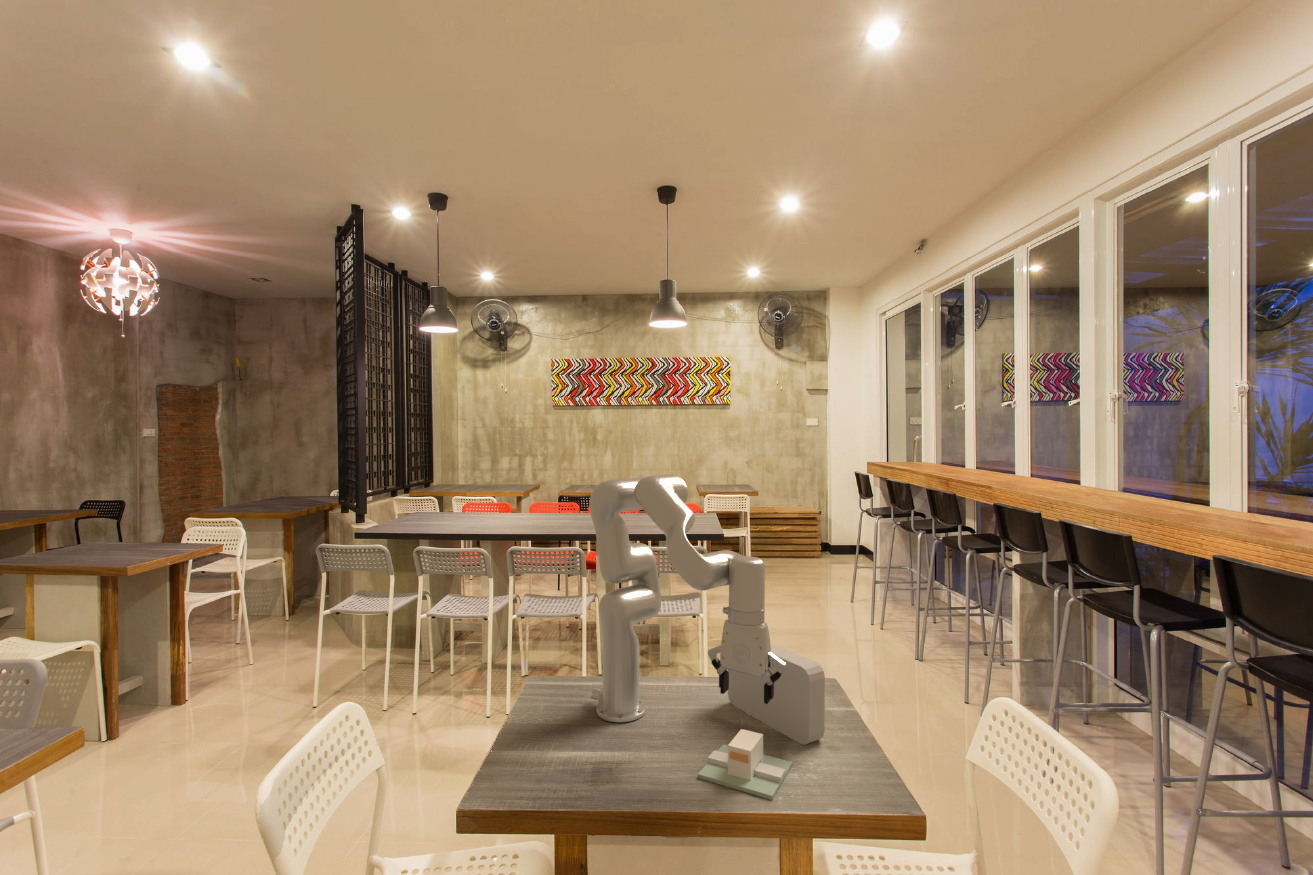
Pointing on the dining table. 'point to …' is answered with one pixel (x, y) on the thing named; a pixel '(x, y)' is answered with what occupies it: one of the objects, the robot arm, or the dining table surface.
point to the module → (745, 754)
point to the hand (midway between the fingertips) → (745, 696)
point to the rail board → (762, 783)
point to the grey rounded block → (785, 697)
